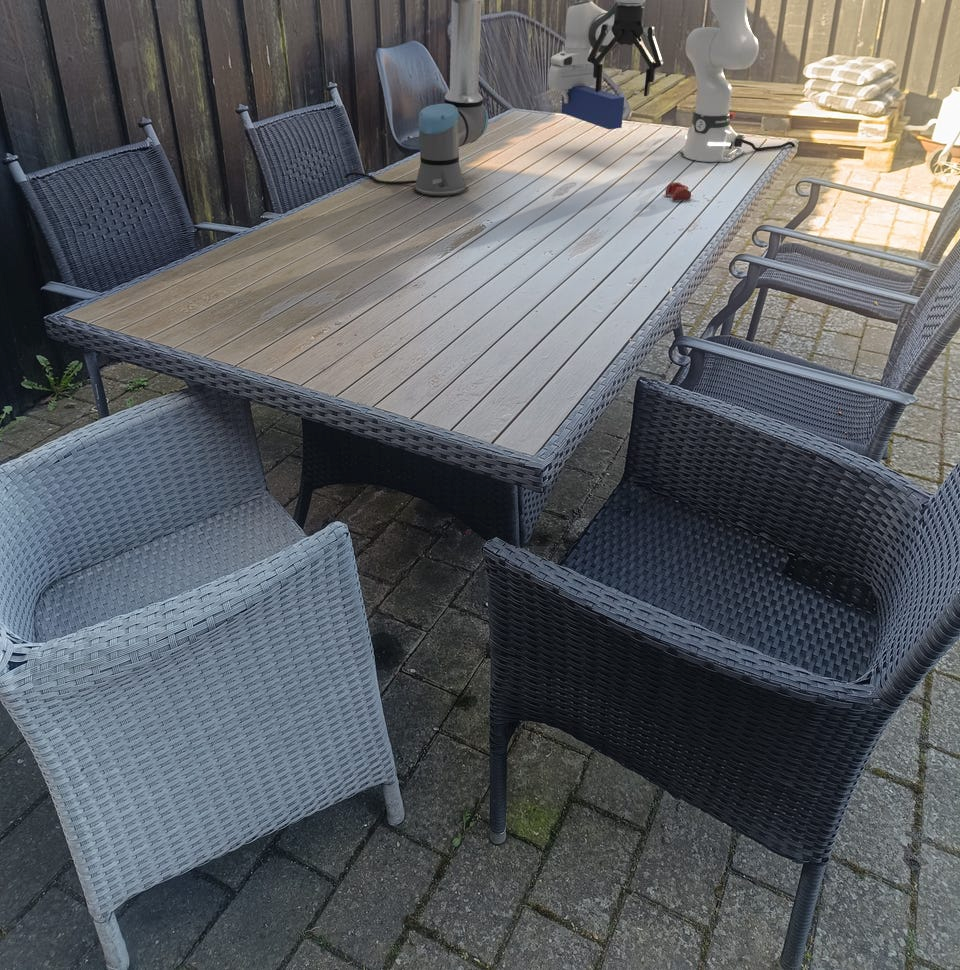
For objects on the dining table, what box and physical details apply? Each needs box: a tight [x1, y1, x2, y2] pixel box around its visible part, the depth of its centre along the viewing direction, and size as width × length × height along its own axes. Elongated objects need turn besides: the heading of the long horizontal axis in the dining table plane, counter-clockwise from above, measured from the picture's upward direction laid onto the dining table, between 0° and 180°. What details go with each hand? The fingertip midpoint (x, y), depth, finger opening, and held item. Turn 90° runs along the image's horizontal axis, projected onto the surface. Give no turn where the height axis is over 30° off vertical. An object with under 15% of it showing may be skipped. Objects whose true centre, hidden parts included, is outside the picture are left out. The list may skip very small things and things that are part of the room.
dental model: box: [665, 181, 692, 202], centre depth 251 cm, size 6×4×8 cm
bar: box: [561, 86, 625, 131], centre depth 278 cm, size 28×5×9 cm, turn 29°
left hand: (622, 93), depth 230 cm, fingers open, 13 cm apart
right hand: (574, 102), depth 286 cm, fingers closed on bar, 5 cm apart
